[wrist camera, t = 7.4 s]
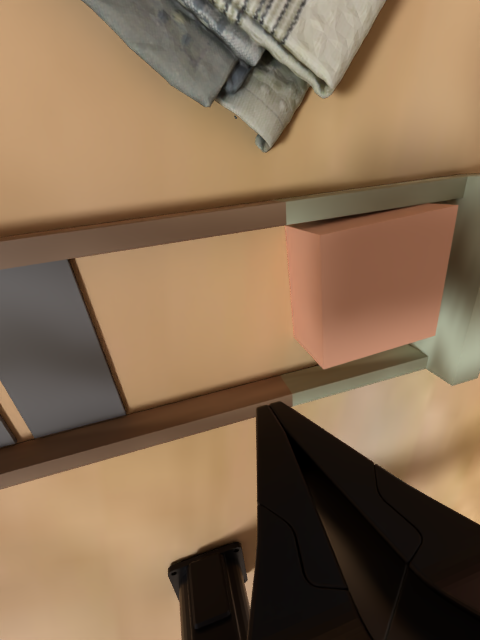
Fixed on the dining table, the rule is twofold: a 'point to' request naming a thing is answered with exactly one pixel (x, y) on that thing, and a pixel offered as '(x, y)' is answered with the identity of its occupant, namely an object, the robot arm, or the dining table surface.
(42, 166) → the dining table surface
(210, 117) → the dining table surface
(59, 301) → the channel
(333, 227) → the block
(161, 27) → the dish towel
